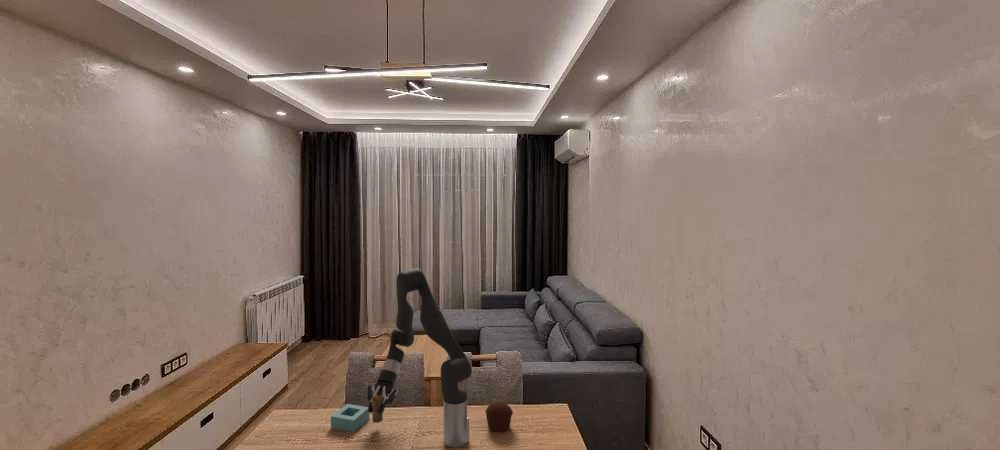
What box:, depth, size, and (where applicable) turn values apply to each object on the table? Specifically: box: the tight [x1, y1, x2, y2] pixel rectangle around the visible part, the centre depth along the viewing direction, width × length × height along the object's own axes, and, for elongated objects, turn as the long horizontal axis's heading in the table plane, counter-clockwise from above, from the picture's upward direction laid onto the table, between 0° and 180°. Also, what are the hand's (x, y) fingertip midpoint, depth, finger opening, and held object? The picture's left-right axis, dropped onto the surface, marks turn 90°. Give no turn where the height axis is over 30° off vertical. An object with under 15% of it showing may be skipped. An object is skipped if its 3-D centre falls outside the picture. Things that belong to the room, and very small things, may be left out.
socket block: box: [330, 403, 370, 433], centre depth 186 cm, size 11×11×5 cm
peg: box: [371, 395, 384, 424], centre depth 181 cm, size 4×4×10 cm
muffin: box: [484, 401, 514, 433], centre depth 183 cm, size 12×11×10 cm
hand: (374, 412), depth 180 cm, fingers closed on peg, 4 cm apart
